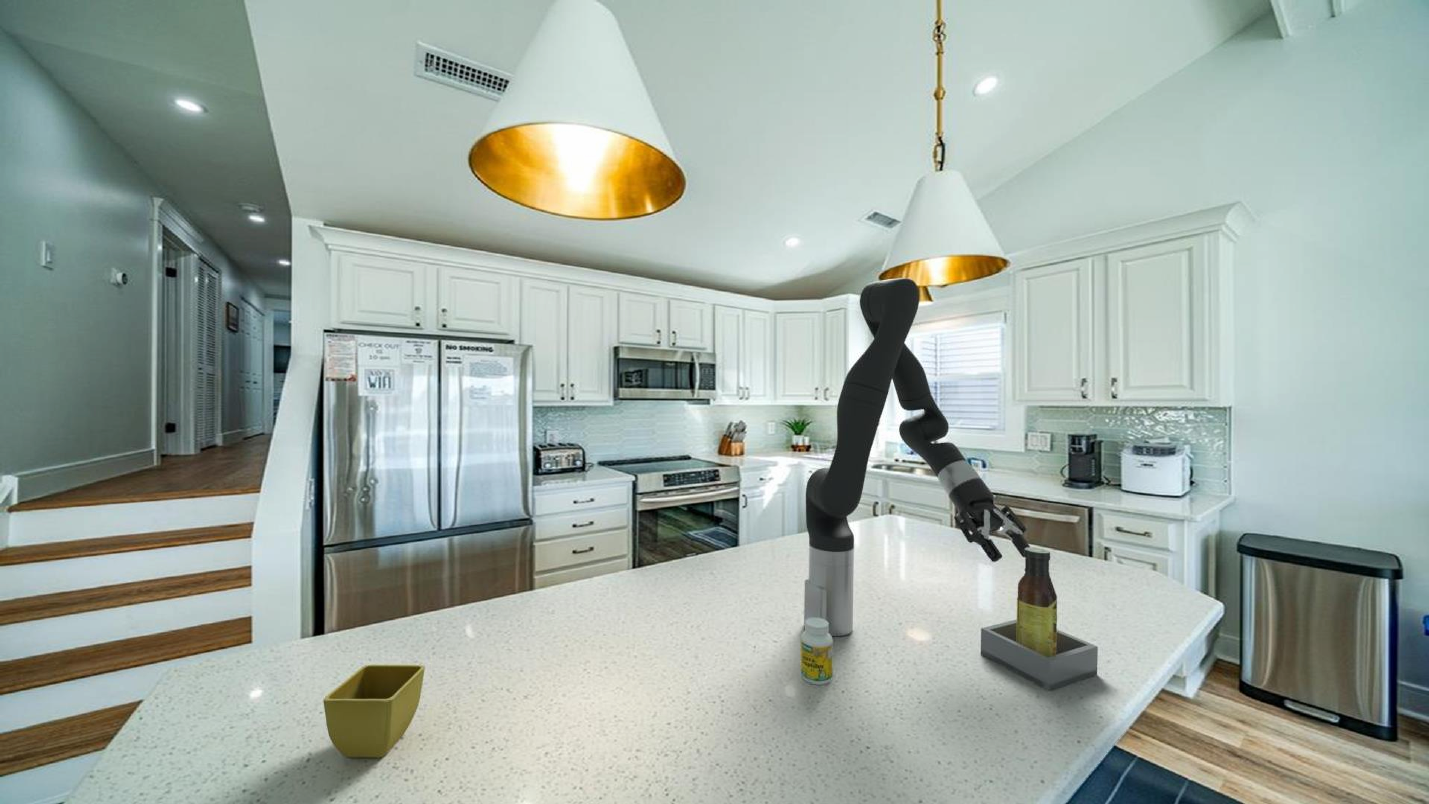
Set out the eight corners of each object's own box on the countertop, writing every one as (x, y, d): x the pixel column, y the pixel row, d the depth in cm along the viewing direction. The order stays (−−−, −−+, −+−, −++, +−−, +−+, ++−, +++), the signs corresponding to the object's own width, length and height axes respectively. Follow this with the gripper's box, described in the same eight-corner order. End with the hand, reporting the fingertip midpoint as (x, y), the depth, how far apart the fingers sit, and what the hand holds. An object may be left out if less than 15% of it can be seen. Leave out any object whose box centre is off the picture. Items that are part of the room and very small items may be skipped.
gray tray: (1049, 691, 85) (1049, 661, 85) (980, 654, 97) (981, 628, 97) (1097, 674, 90) (1097, 646, 90) (1026, 641, 102) (1026, 617, 102)
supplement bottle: (836, 674, 89) (836, 619, 89) (827, 689, 85) (827, 632, 85) (806, 666, 92) (807, 613, 92) (796, 680, 87) (796, 624, 87)
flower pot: (426, 725, 74) (426, 663, 74) (390, 768, 66) (390, 699, 66) (364, 725, 74) (365, 664, 74) (320, 769, 65) (320, 700, 65)
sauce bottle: (1062, 669, 90) (1066, 557, 89) (1023, 665, 91) (1027, 554, 91) (1046, 651, 96) (1049, 546, 96) (1010, 647, 97) (1013, 544, 97)
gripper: (950, 478, 103) (1000, 551, 92) (999, 475, 108) (1052, 544, 98) (929, 499, 107) (974, 571, 97) (977, 495, 113) (1025, 563, 103)
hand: (1013, 557), depth 97 cm, fingers open, 8 cm apart
